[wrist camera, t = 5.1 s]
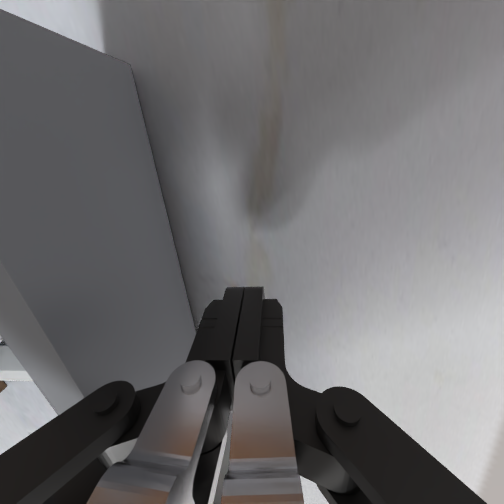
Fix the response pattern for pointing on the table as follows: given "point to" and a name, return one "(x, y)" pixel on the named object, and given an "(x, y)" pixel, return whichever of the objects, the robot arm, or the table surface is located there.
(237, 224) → the table surface
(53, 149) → the white drawer
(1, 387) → the wooden side table
